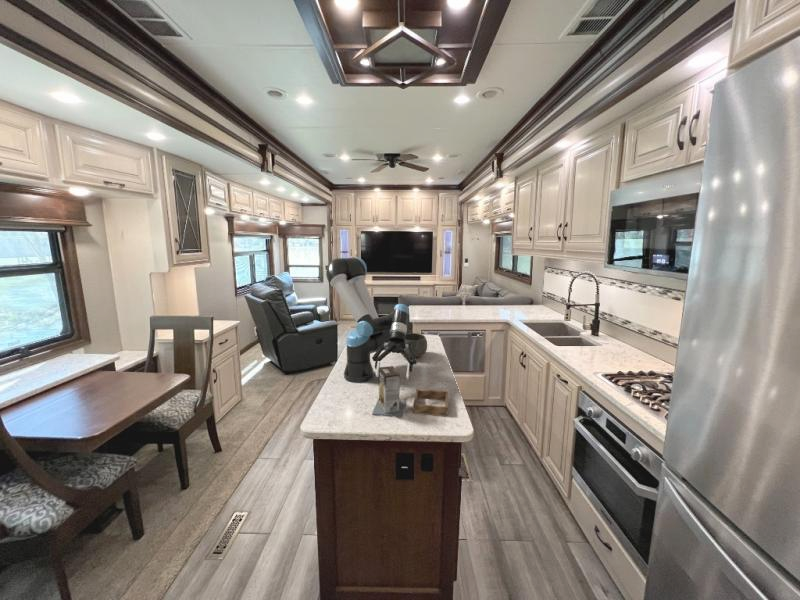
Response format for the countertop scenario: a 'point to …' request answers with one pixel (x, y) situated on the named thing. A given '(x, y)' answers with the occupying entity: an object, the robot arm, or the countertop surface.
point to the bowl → (416, 344)
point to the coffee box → (389, 389)
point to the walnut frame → (431, 408)
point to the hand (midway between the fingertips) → (391, 377)
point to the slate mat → (379, 411)
